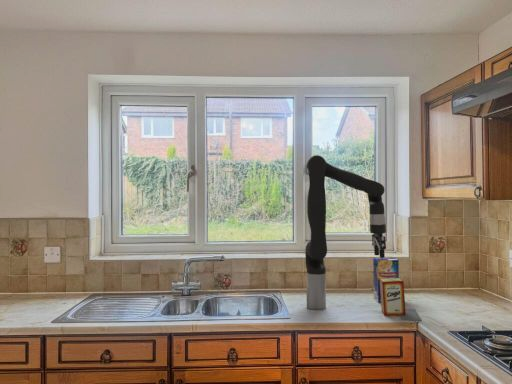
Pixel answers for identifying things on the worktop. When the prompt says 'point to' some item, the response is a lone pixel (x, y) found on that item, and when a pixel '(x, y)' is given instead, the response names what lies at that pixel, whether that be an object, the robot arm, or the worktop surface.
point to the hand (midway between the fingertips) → (379, 256)
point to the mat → (410, 315)
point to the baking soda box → (392, 296)
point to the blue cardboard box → (384, 273)
